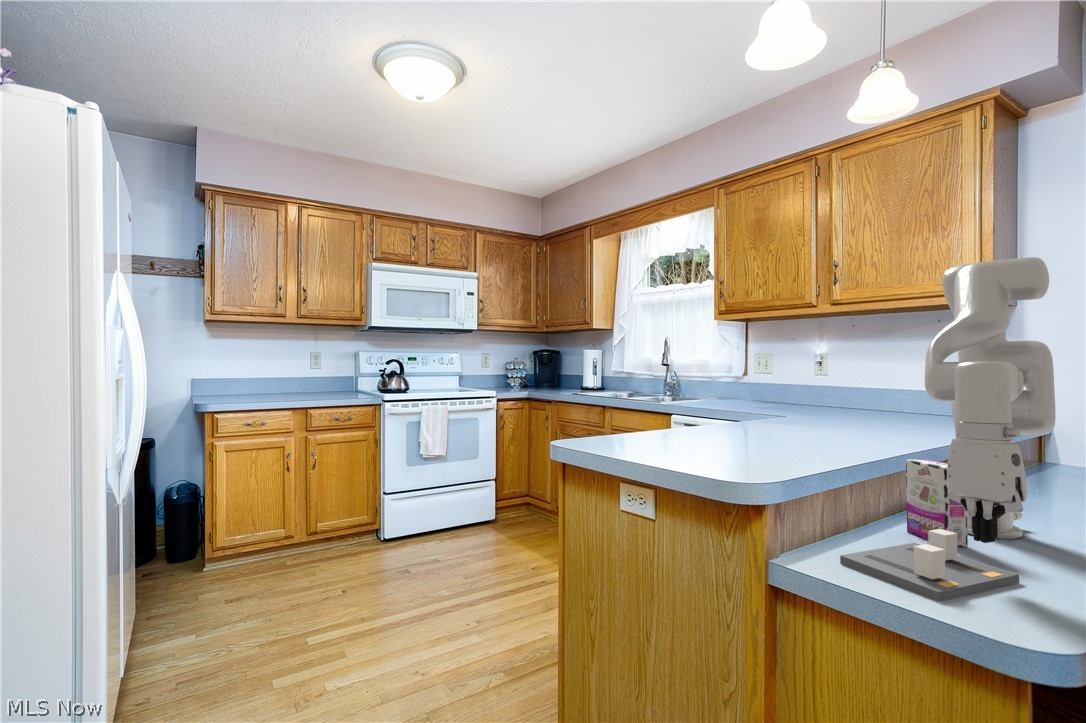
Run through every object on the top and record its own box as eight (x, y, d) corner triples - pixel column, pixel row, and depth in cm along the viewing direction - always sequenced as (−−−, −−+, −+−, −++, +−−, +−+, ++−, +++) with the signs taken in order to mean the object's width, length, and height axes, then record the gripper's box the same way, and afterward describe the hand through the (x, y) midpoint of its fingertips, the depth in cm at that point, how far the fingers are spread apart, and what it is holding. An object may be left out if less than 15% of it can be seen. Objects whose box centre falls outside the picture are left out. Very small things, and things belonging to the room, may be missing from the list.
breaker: (927, 570, 93) (926, 544, 93) (945, 576, 90) (944, 549, 90) (914, 572, 92) (913, 546, 92) (932, 579, 89) (931, 551, 89)
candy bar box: (969, 547, 110) (968, 467, 110) (947, 548, 110) (945, 467, 110) (926, 531, 121) (925, 458, 121) (905, 532, 121) (904, 458, 121)
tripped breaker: (940, 553, 101) (940, 528, 101) (957, 558, 98) (957, 533, 98) (928, 555, 100) (928, 530, 100) (945, 560, 97) (945, 535, 97)
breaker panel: (914, 550, 109) (914, 542, 109) (1019, 583, 92) (1019, 573, 92) (840, 563, 102) (840, 554, 102) (939, 601, 85) (939, 591, 85)
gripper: (1049, 436, 87) (1052, 552, 86) (951, 428, 101) (953, 527, 100) (1020, 438, 84) (1022, 556, 84) (923, 429, 98) (925, 531, 98)
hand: (984, 540), depth 92 cm, fingers closed
